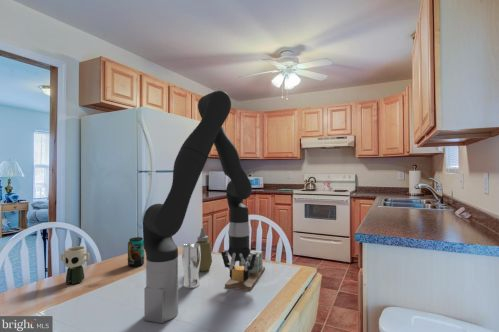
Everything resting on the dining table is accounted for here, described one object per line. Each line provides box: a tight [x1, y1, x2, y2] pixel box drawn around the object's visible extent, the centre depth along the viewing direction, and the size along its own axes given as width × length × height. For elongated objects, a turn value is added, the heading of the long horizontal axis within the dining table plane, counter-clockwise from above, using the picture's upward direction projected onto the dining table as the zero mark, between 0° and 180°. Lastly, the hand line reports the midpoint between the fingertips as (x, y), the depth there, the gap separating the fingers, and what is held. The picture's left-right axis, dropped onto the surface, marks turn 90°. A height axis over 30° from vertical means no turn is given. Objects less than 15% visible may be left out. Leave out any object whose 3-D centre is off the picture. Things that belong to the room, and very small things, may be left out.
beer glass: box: [181, 242, 201, 289], centre depth 108 cm, size 7×7×15 cm
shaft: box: [232, 260, 251, 281], centre depth 115 cm, size 22×4×4 cm, turn 163°
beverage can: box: [127, 236, 145, 268], centre depth 130 cm, size 7×7×12 cm
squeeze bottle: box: [195, 227, 213, 272], centre depth 124 cm, size 8×8×18 cm
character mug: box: [60, 245, 90, 285], centre depth 111 cm, size 11×7×13 cm, turn 91°
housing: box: [224, 249, 266, 291], centre depth 115 cm, size 22×10×8 cm, turn 163°
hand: (239, 279), depth 106 cm, fingers closed on shaft, 4 cm apart
